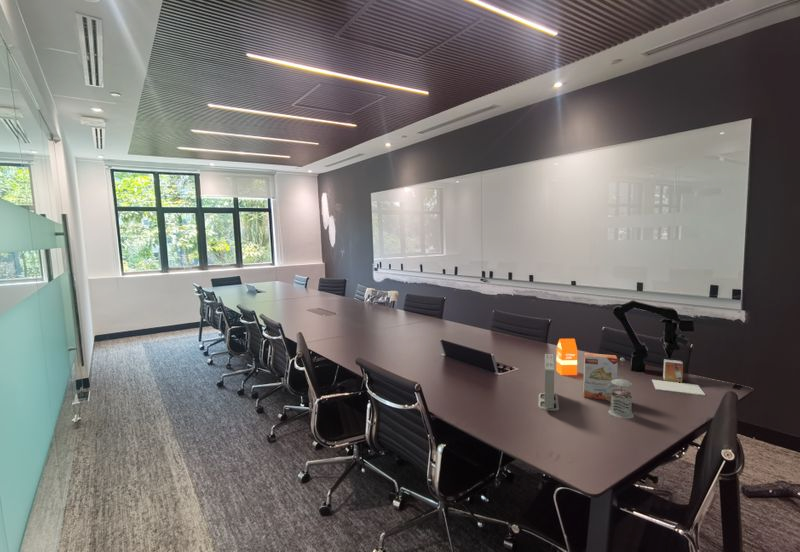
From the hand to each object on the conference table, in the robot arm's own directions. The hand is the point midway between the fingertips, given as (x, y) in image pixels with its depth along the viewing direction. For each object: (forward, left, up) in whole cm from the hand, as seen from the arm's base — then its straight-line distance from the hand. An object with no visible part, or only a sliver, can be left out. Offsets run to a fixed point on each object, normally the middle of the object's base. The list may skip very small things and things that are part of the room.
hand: (669, 358), depth 218 cm
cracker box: (-36, -51, -9) cm, 63 cm away
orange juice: (-52, -19, -9) cm, 56 cm away
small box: (0, -11, -9) cm, 14 cm away
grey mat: (0, -23, -9) cm, 24 cm away
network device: (-58, -66, -9) cm, 88 cm away
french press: (-29, -67, -9) cm, 74 cm away
